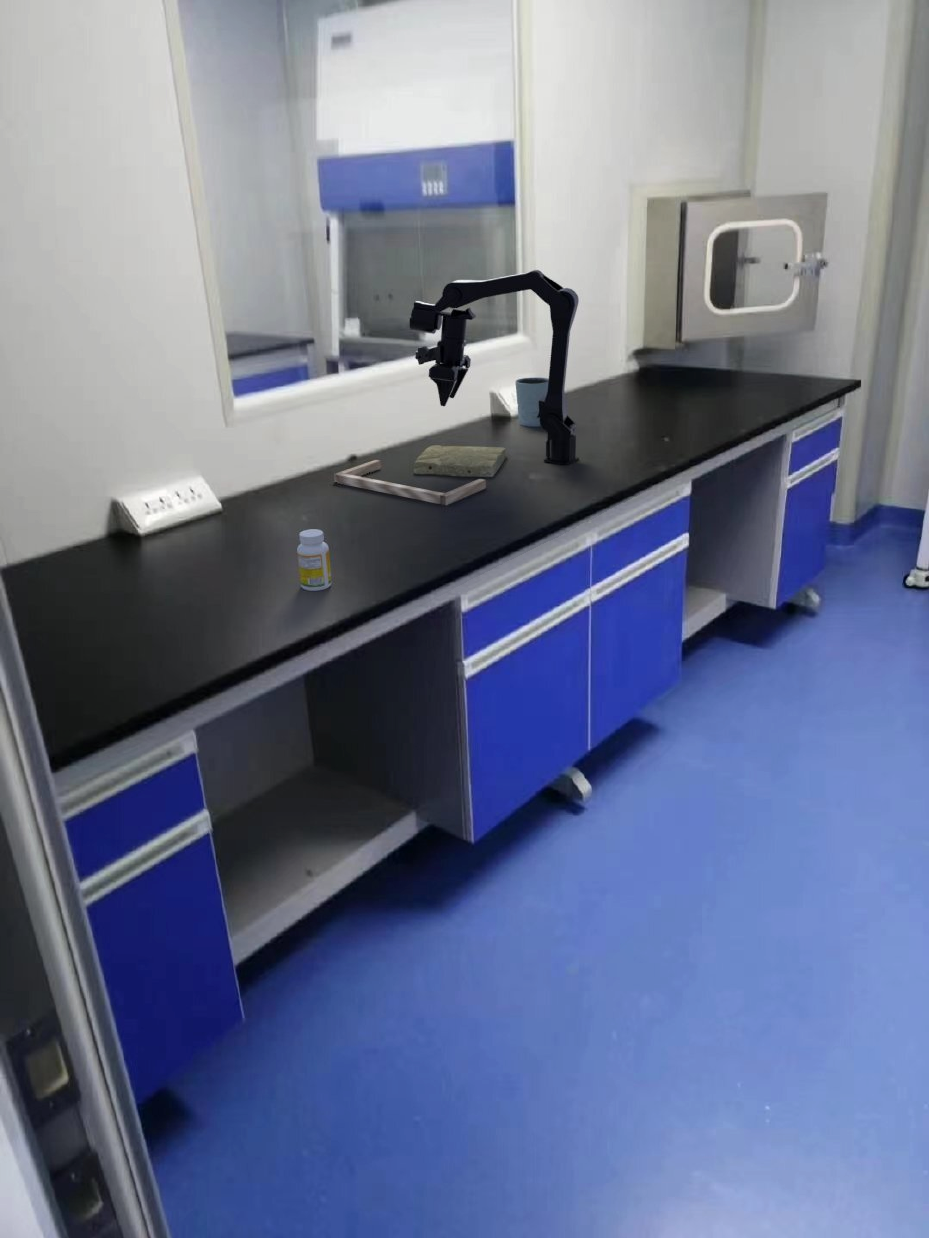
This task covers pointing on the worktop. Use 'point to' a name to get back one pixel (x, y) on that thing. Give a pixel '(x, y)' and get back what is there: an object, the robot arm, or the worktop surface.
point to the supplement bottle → (314, 561)
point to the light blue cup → (530, 399)
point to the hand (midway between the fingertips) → (447, 402)
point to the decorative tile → (460, 461)
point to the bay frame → (447, 498)
